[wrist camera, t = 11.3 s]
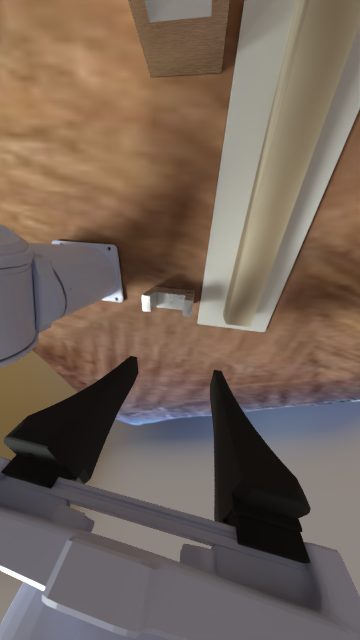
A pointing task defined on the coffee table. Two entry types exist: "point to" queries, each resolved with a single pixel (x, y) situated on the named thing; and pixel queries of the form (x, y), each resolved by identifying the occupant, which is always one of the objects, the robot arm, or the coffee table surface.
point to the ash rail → (290, 141)
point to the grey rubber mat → (245, 148)
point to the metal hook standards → (179, 59)
